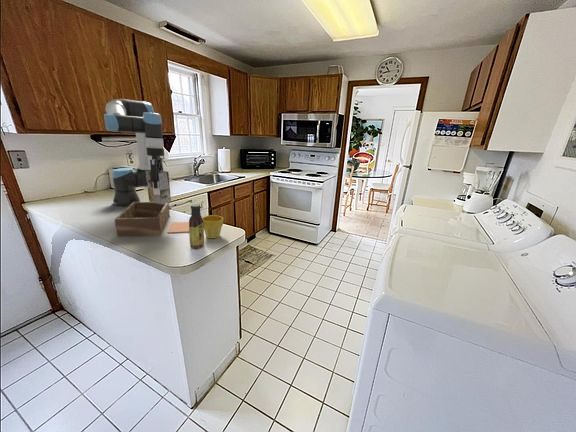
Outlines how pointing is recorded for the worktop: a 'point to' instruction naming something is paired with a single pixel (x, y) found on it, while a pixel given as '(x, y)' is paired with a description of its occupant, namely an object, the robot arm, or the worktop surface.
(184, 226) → the terracotta tile
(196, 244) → the sauce bottle
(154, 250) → the worktop surface
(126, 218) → the walnut box
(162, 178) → the coffee box
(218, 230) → the plant pot
